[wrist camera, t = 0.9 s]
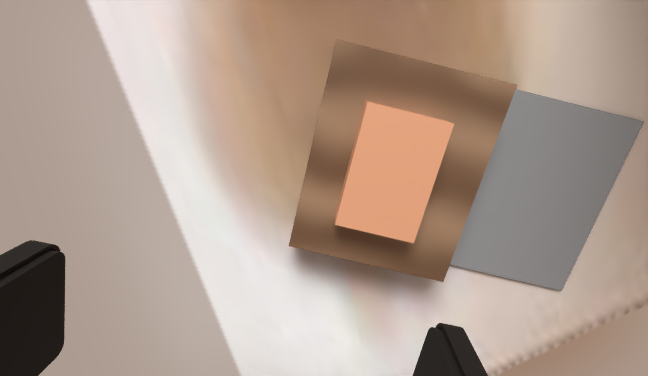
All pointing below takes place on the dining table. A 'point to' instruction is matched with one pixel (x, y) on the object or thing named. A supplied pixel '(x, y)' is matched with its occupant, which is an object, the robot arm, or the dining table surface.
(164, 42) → the dining table surface
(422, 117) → the peach rectangular tile
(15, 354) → the robot arm
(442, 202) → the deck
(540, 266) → the mat
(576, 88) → the dining table surface
